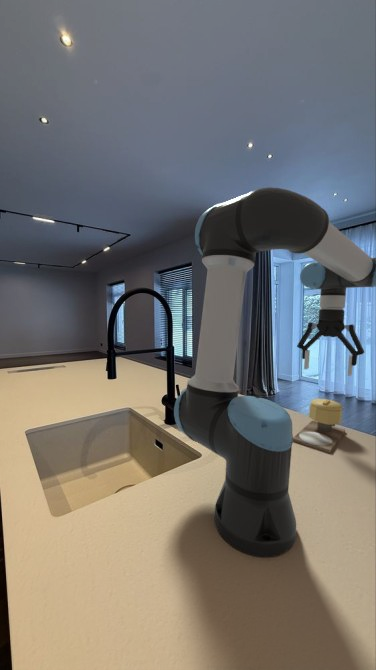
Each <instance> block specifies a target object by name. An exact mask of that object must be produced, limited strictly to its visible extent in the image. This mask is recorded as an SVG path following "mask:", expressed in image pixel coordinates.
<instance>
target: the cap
mask: <svg viewBox="0 0 376 670" xmlns="http://www.w3.org/2000/svg"><path fill="white" fill-rule="evenodd" d="M310 401H311V403H310V404H309V412H308V413H309V414H308V417H309V418H310V419H311V420H312V421H315V422H320V423H324V424H327V425H335V426H336V425H337V426H338V425H340V424H341V422H342V421H343V409H344V408H343V405H342V404H341V403H340V402H337V401H335V400H331V399H326V398H313V399H311V400H310Z"/></svg>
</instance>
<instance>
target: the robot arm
mask: <svg viewBox="0 0 376 670" xmlns="http://www.w3.org/2000/svg"><path fill="white" fill-rule="evenodd" d="M194 241H195V245H196V246H197V247H198V248H197V250H198V252H199V253H200V255H201V256H202V257H201V262H202V264H203V265H204V266H205V268H206V269H207V274H206V279H205V280H206V281H205V289H204V290H205V291H204V297H203V307H202V313H201V314H202V315H201V322H200V323H201V324H200V329H199V338H198V340H199V341H198V348H197V355H196V365H195V374H194V375H193V376H192V377H190V378H189V379H188V380H187V382H186V383H187V385H186V387H185V388H184V389H182V391H180V395H177V398H176V400H175V403H174V407H173V417H174V421H175V424H176V425H177V428H178V429H179V430H180V431H181V433H183V434H184V435H185V436H187V437H188V439H189V440H191V441H193V442H195V443H198V444H200V445H201V446H203V447H205V448H206V449H207V450H210V451H211V452H213V453H214V454H216V455H217V456H219V457H221V458H222V459H224V460H225V476H224V477H225V479H224V482H223V485H222V487H221V489H220V492H219V495H218V496H217V499H216V502H215V505H214V506H215V507H214V518H213V519H214V525H215V527H216V530H217V532H218V534H219V535H220V536H221V538H222V539H223V540H224V541H225V542H226V543H227V544H229V545H230V546H231V547H233V548H234V549H236V550H238V551H240V552H242V553H244V554H247V555H251V556H255V557H265V558H266V557H267V558H269V557H276V556H277V557H278V556H280V555H282V554H284V553H286V552H287V551H289V550H290V549H291V548H292V547H293V545H294V543H295V541H296V537H297V535H296V534H297V519H296V516H295V511H294V508H293V504H292V500H291V497H290V492H289V486H290V475H291V474H290V473H291V459H292V448H293V443H294V442H293V437H294V435H293V420H292V417H291V415H290V414H289V412H288V411H287V410H286V409H285V408H284V407H283V406H282V405H280V404H278V403H276V402H274V401H272V400H269V399H266V398H263V397H256V396H253V395H239V390H240V387H239V386H238V385H237V384H236V382H235V380H234V376H235V375H234V374H235V366H236V357H237V350H238V341H239V335H240V327H241V326H240V325H241V319H242V318H241V317H242V309H243V302H244V301H243V300H244V293H245V286H246V285H245V284H246V277H247V273H249V271H250V270H251V269H253V267H255V261H256V253H260V252H265V251H272V250H286V251H288V252H290V253H292V254H295V255H297V254H298V255H301V254H304V255H305V256H307V257H309V258H310V259H312V260H313V261H315V262H309V263H307V264H305V265H304V266H303V267H302V269H301V271H300V274H299V280H300V282H301V284H302V285H303V286H304V287H306V288H309V289H311V290H314V289H317V290H320V298H319V308H321V309H319V310H318V322H317V323H315V322H310V321H309V323H308V324H307V328H306V330H305V332H304V334H303V335H302V336H301V338H300V340H299V341H298V343H297V346H296V347H297V348H298V349H301V351H302V353H301V358H302V360H304V363H303V369H304V370H307V369H309V368H310V352H311V350H309V348H310V347H311V346H312V345H314V344H315V342H316V341H317V340H319V339H320V338H321V337H322V336H323V337H330V338H336V337H337V338H338V339H339V340H340V342H342V344H343V345H344V346H345V348H346V349H347V350H348V351H349V353H350V355H348V356H349V357H348V368H347V376H349V377H351V376H352V375H353V366H354V367H355V366H357V363H358V356H360V355H363V354H365V350H364V348H363V346H362V344H361V341H360V339H359V337H358V335H357V332H356V329H355V328H356V327H355V325H354V324H352V323H351V324H345V322H344V321H345V308H346V299H347V298H346V296H347V289H349V288H375V287H376V257H371V256H369V254H367V253H366V252H365V251H364V250H363V249H362V248H360V247H359V246H358V245H357V244H356V243H354V242H353V241H352V239H349V238H348V237H347V235H345V234H344V233H343V232H341V231H340V230H339V229H338V228H337V227H336V226H335V225H334V224H332V223H331V222H330V217H329V214H328V212H327V211H326V210H325V209H324V208H323V207H322V206H321V205H320V204H319V203H317V202H315V201H314V200H312V199H311V198H309V197H307V196H305V195H302V194H300V193H297V192H296V191H292V190H290V189H289V190H288V189H286V188H285V189H284V188H280V187H271V186H270V187H269V186H268V187H261V188H257V189H254V190H251V191H250V192H247V193H246V194H245V193H244V194H242V195H240V196H237V197H236V198H233V199H230V200H228V201H223V202H222V201H221V202H219V203H216V204H215V205H213V206H212V207H210V208H208V209H207V210H206V211H204V212H203V213H202V214H201V216H200V217H199V218H198V221H197V223H196V226H195V230H194ZM316 328H317V330H318V332H316V333H315V335H314V336H313V337H312V338H311V339H309V337H310V335H311V334H312V332H313V330H315V329H316ZM345 329H346V331H347V332H349V335H350V337H351V339H352V341H353V343H354V344H353V345H355V347H354V346H353V345H352V344H351V342H350V341H349V340H348V339H347V338H346V336H345V335H344V333H343V331H344V330H345ZM308 339H309V341H308V342H306V341H307V340H308ZM355 348H356V349H355Z"/></svg>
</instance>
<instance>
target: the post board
mask: <svg viewBox="0 0 376 670" xmlns="http://www.w3.org/2000/svg"><path fill="white" fill-rule="evenodd" d="M345 433H346V429H344V428H341V427H338V426H336V425H327V424H324V423H320V422H316V421H314V420H311V421H310V422H309V423H308V424H307V425H305V426H304V427H303V428H302V429H301V430H300V431H299V432H298V433H297V434H295V435H293V443H297V444H300V445H303V446H306V447H308V448H312V449H315V450H319V451H321V452H324V453H328V454H331V453H332V452H333V450H334V449H335V448H336V445H338V443H339V442H340V440H341V439H342V437H344V434H345Z"/></svg>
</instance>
